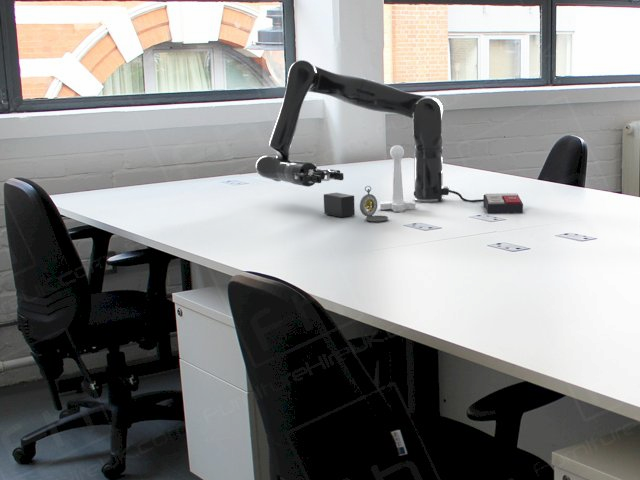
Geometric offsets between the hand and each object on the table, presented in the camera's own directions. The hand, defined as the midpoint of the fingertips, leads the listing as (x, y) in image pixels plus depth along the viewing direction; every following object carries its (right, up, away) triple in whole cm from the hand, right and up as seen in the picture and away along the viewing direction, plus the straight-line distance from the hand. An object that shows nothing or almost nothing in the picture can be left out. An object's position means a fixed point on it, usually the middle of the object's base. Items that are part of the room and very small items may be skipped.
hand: (331, 178), depth 325 cm
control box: (+54, -9, +7) cm, 55 cm away
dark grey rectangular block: (+5, -9, -3) cm, 11 cm away
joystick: (+20, -8, +9) cm, 24 cm away
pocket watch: (+13, -14, -7) cm, 21 cm away
